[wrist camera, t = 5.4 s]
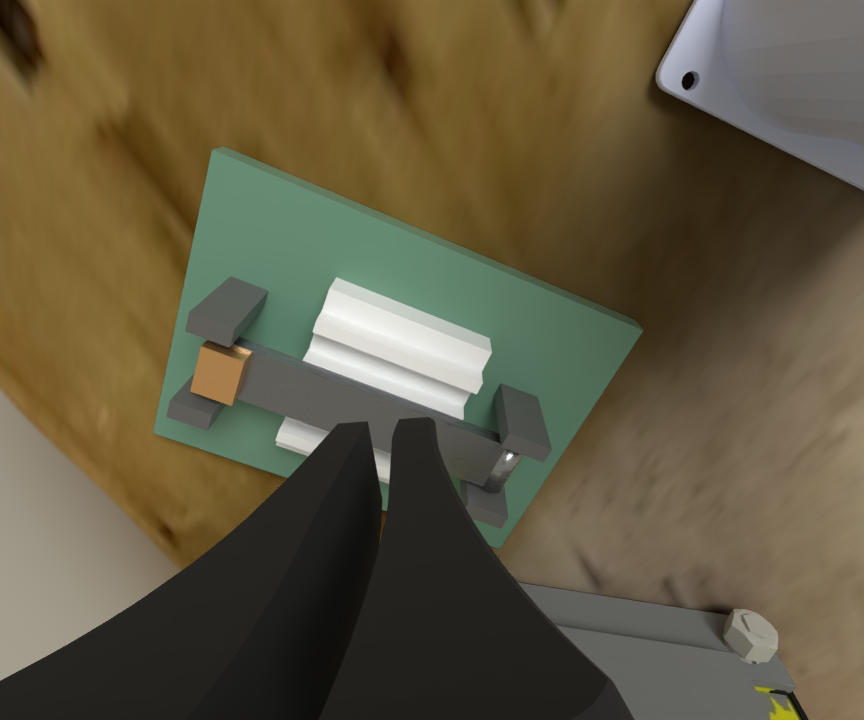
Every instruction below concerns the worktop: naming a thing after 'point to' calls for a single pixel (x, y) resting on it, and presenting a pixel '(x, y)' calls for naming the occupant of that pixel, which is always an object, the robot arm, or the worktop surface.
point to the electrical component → (677, 656)
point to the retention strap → (344, 406)
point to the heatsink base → (381, 330)
